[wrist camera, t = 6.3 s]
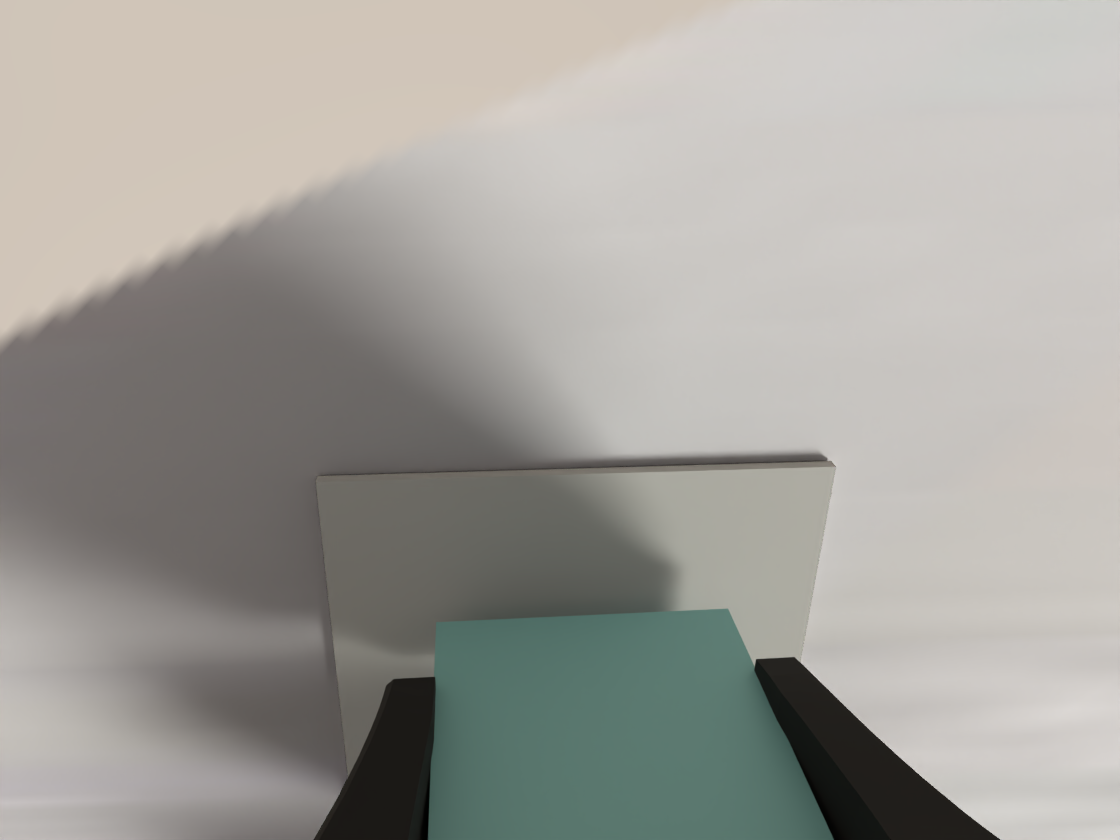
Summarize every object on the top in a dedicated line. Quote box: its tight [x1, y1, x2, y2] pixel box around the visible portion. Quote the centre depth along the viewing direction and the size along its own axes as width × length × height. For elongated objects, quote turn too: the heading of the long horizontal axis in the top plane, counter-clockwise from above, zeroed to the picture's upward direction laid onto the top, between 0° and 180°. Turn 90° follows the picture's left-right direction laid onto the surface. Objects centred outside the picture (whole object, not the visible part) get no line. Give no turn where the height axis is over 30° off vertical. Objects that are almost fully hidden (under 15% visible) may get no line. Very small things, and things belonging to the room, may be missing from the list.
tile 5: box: [428, 609, 834, 840], centre depth 12 cm, size 2×5×6 cm, turn 88°
